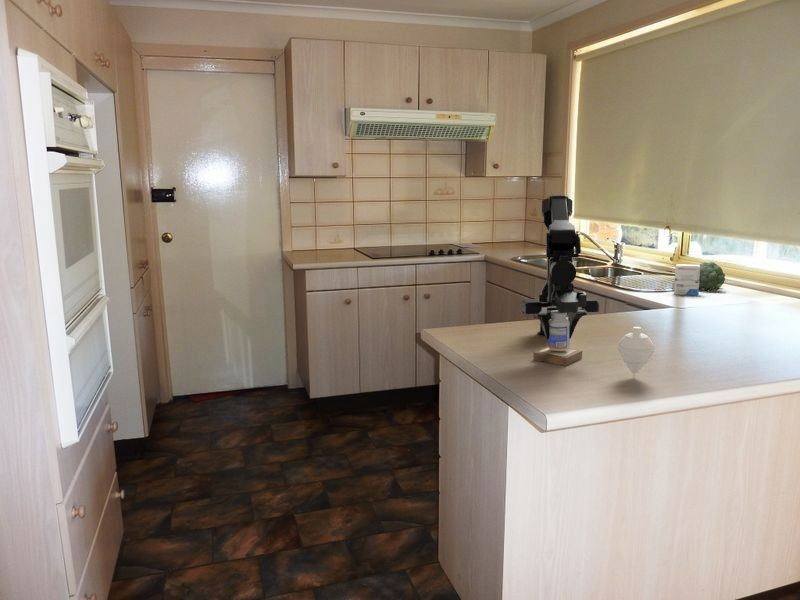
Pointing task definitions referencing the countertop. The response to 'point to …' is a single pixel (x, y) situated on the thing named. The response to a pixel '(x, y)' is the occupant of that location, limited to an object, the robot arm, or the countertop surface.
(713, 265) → the vegetable
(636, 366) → the spinning top
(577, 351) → the walnut picture frame
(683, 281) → the ink box
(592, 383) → the countertop surface
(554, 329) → the pill bottle
